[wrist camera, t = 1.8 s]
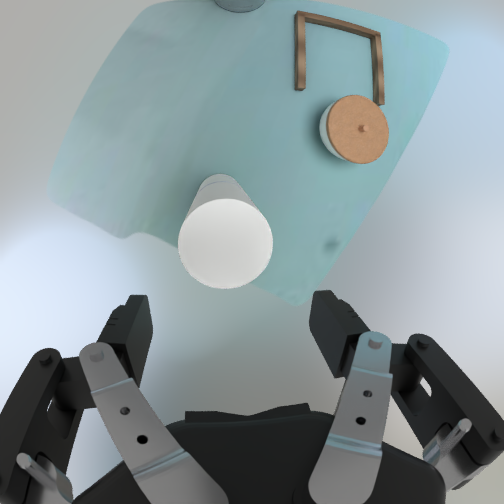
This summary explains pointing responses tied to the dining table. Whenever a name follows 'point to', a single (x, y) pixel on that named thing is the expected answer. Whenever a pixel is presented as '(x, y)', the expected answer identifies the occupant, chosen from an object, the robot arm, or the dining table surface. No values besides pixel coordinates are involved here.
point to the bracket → (345, 26)
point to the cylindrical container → (224, 235)
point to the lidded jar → (354, 129)
